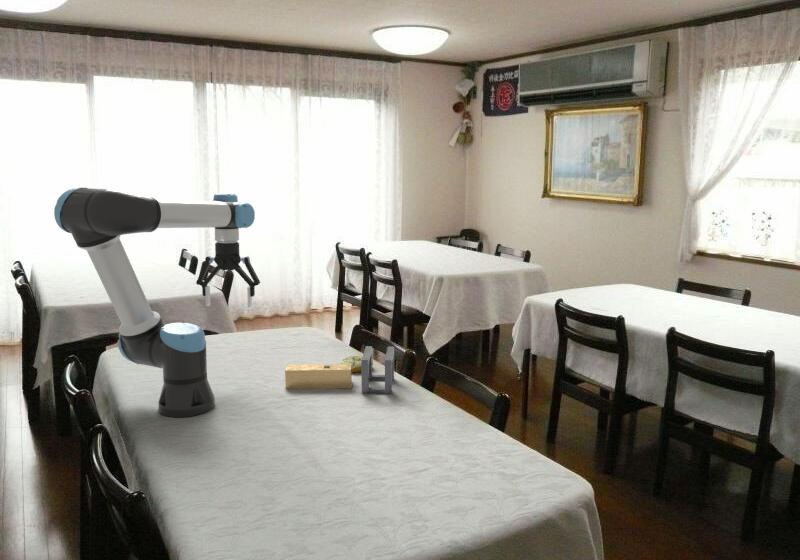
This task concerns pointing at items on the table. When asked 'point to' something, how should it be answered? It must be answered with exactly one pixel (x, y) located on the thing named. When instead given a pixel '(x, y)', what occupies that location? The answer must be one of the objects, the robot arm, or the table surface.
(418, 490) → the table surface
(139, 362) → the robot arm
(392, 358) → the grey cradle stand
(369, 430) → the table surface
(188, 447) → the table surface
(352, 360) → the decorated donut
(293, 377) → the tan wooden brick
